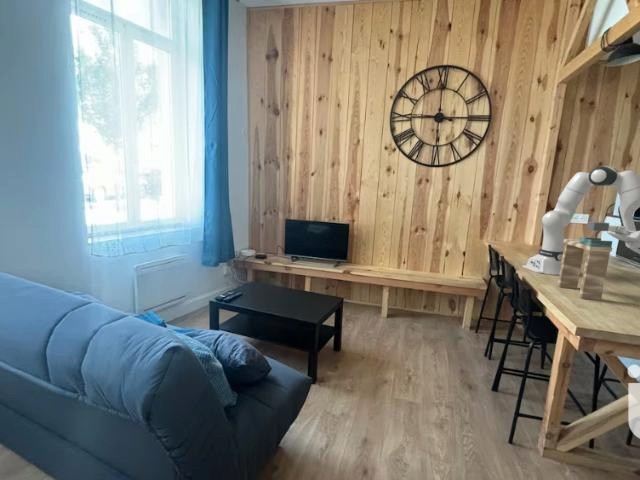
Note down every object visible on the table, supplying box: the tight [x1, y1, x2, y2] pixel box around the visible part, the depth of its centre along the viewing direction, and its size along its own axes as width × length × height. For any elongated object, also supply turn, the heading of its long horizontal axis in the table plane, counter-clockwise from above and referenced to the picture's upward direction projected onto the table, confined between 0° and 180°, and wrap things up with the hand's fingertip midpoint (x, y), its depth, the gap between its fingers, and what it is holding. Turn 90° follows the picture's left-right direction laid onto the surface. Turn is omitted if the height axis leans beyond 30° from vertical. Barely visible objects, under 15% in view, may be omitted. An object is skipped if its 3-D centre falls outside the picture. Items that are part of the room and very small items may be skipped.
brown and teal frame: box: [557, 236, 613, 301], centre depth 180 cm, size 20×10×29 cm, turn 176°
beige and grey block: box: [586, 221, 626, 232], centre depth 181 cm, size 16×5×4 cm, turn 86°
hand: (614, 227), depth 181 cm, fingers closed on beige and grey block, 3 cm apart
